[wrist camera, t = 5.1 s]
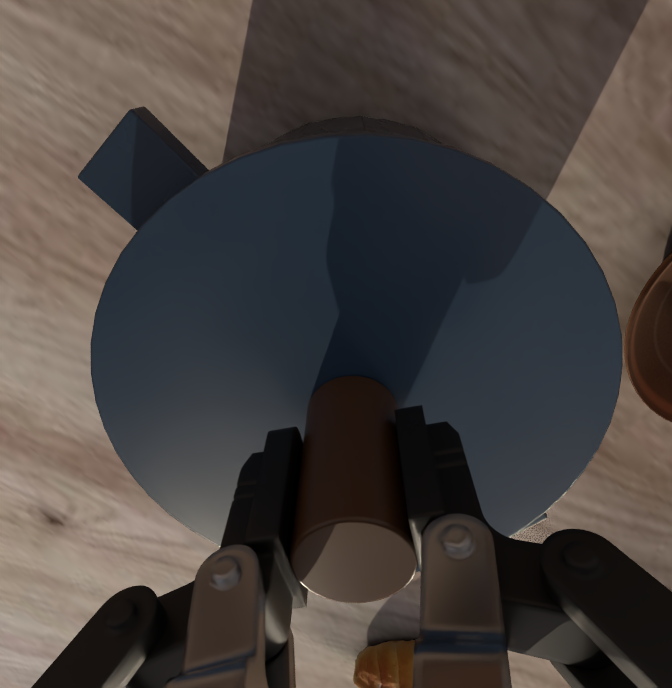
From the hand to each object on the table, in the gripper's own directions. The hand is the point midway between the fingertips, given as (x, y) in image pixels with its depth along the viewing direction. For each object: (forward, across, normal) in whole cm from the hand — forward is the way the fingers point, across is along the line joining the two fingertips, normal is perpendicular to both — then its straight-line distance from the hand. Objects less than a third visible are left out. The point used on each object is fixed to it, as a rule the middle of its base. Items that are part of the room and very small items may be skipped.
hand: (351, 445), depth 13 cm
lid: (+2, 0, 0) cm, 2 cm away
